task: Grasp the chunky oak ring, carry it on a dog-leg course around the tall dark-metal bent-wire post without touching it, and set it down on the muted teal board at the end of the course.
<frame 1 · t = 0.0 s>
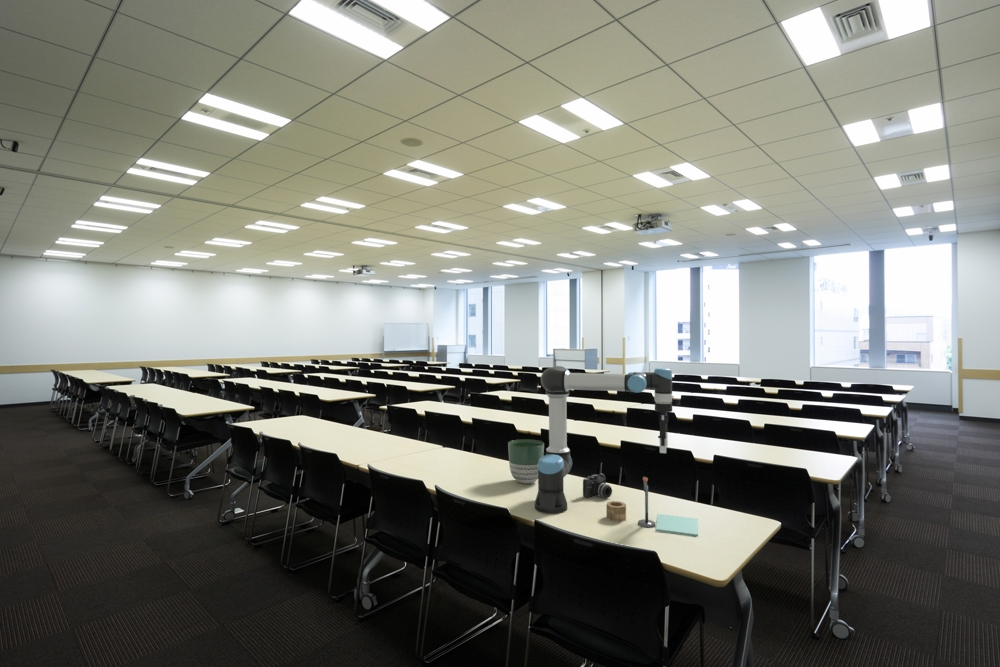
hand: (663, 449, 221), 28 cm above the table, fingers open, 13 cm apart
planter: (526, 482, 267), on the table
camera: (598, 497, 242), on the table
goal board: (677, 525, 205), on the table
ring: (616, 517, 214), on the table
wire post: (646, 524, 206), on the table
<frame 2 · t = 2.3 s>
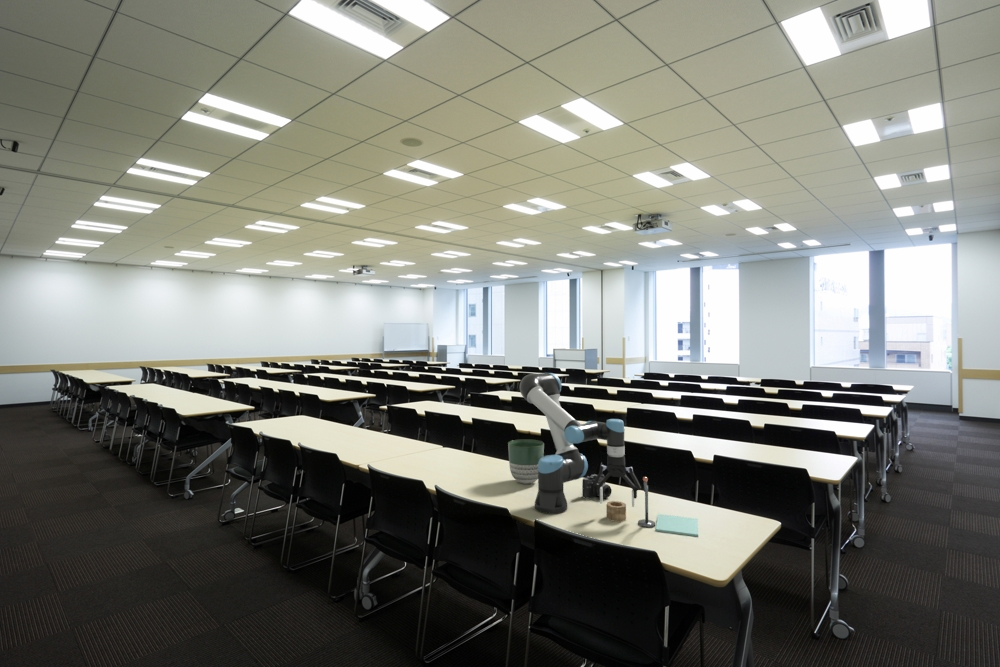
hand: (617, 504, 214), 6 cm above the table, fingers open, 13 cm apart
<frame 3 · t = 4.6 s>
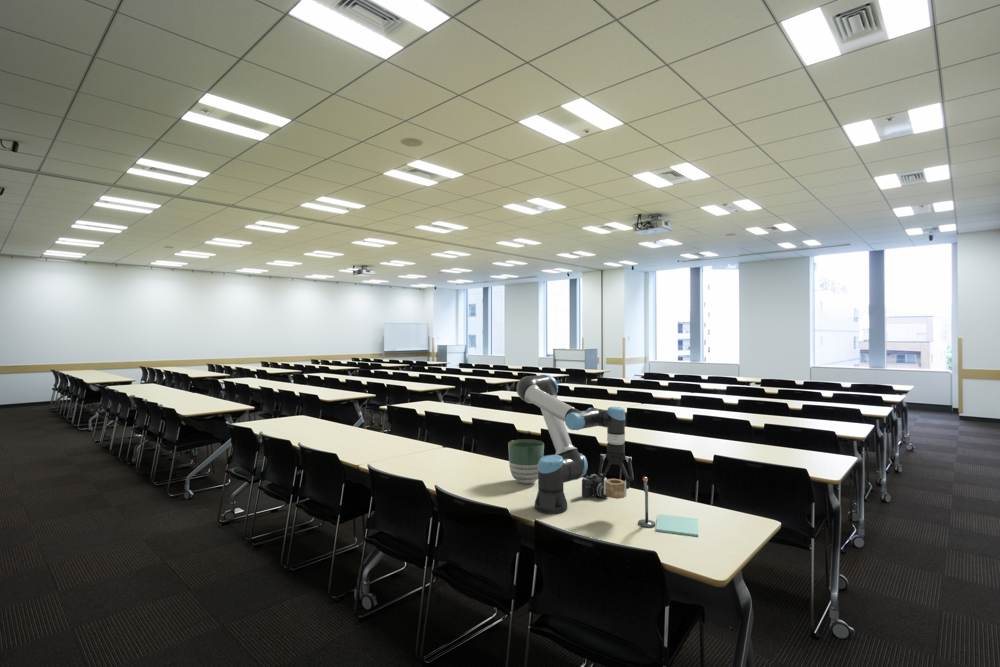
hand: (615, 494, 214), 10 cm above the table, fingers closed on ring, 8 cm apart
ring: (615, 495, 214), point 10 cm above the table, touching gripper
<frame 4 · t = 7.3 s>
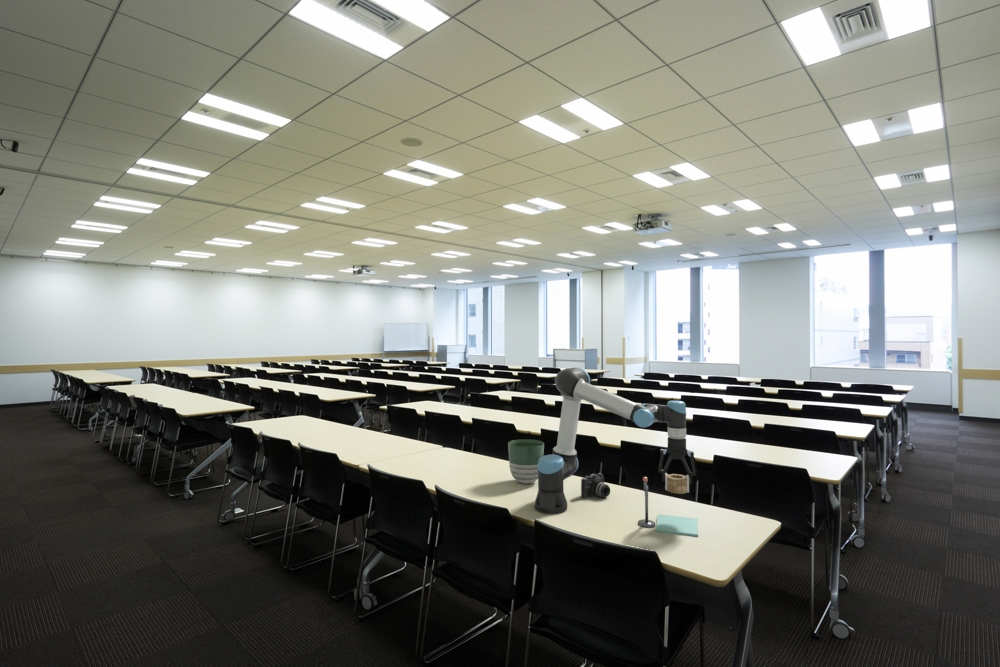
hand: (677, 490, 210), 13 cm above the table, fingers closed on ring, 8 cm apart
ring: (677, 490, 210), point 13 cm above the table, touching gripper
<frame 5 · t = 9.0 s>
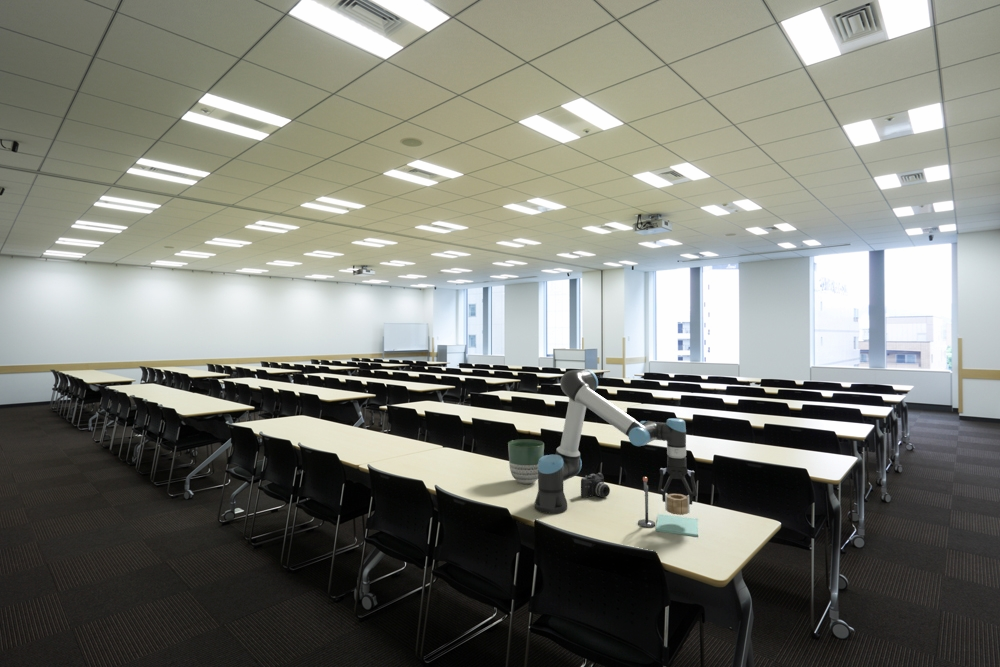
hand: (677, 510, 205), 6 cm above the table, fingers closed on ring, 8 cm apart
ring: (677, 511, 205), point 6 cm above the table, touching gripper
when the fingers open (1 cm above the table, at t = 10.3 s): ring stays where it is, resting on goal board.
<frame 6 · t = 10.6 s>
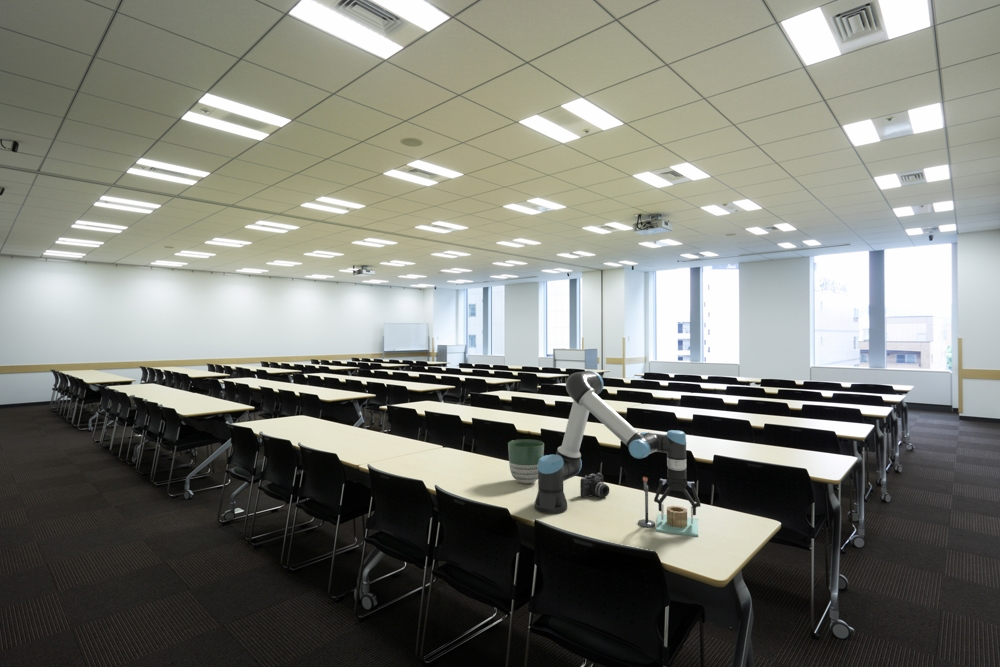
hand: (677, 520, 205), 2 cm above the table, fingers open, 11 cm apart
ring: (677, 523, 205), point 1 cm above the table, touching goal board
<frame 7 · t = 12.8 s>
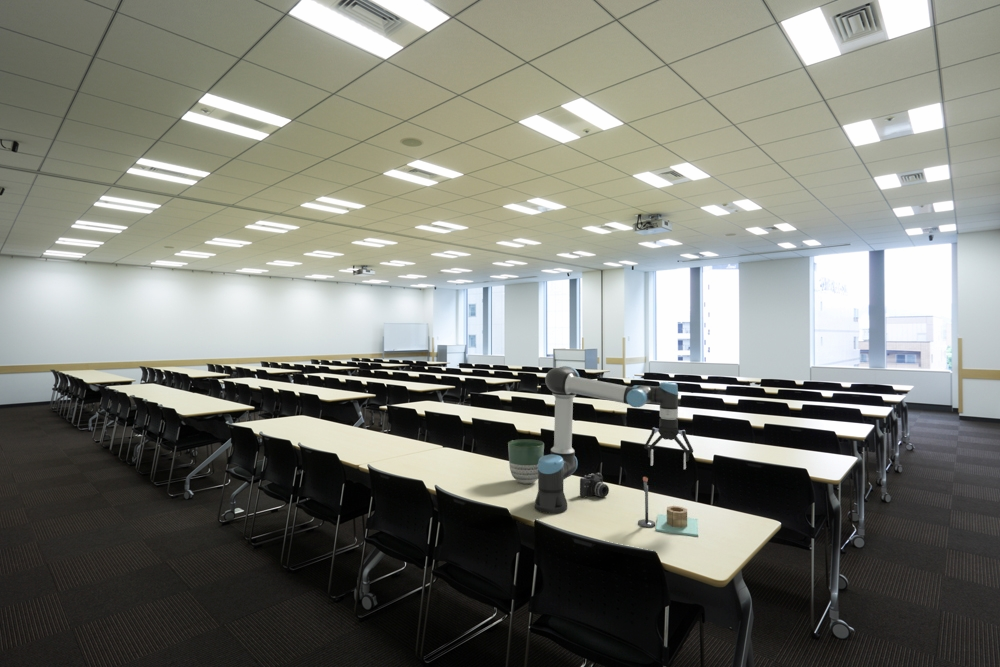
hand: (668, 466, 213), 22 cm above the table, fingers open, 13 cm apart
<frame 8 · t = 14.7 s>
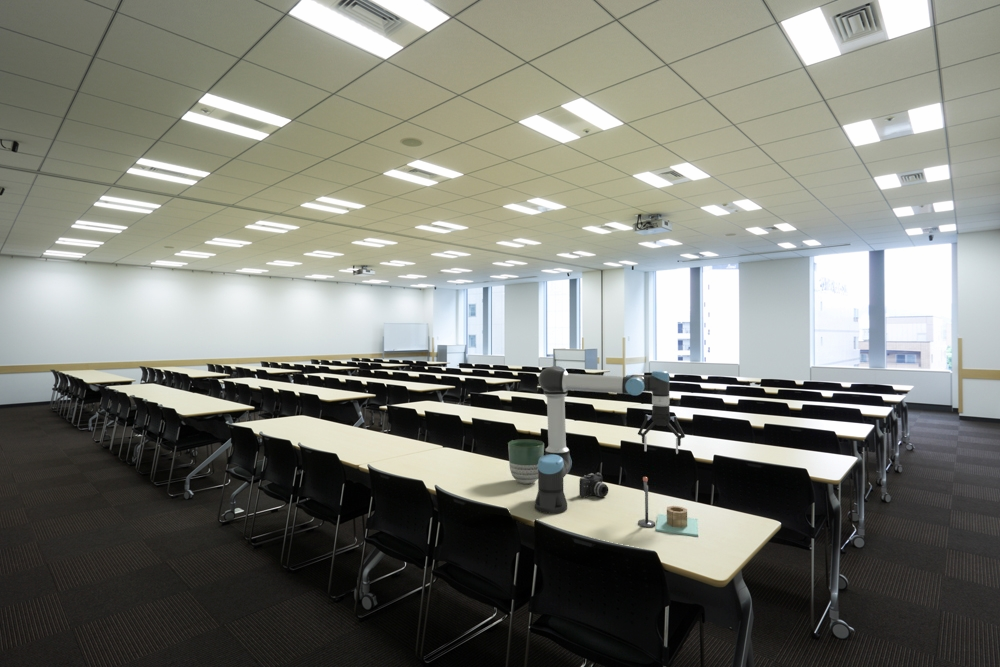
hand: (661, 451, 223), 27 cm above the table, fingers open, 13 cm apart
at the end: ring inside the target area on the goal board (0.1 cm from its centre), point 0.8 cm above the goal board's base; ring tilted 0°; ring touching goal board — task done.
